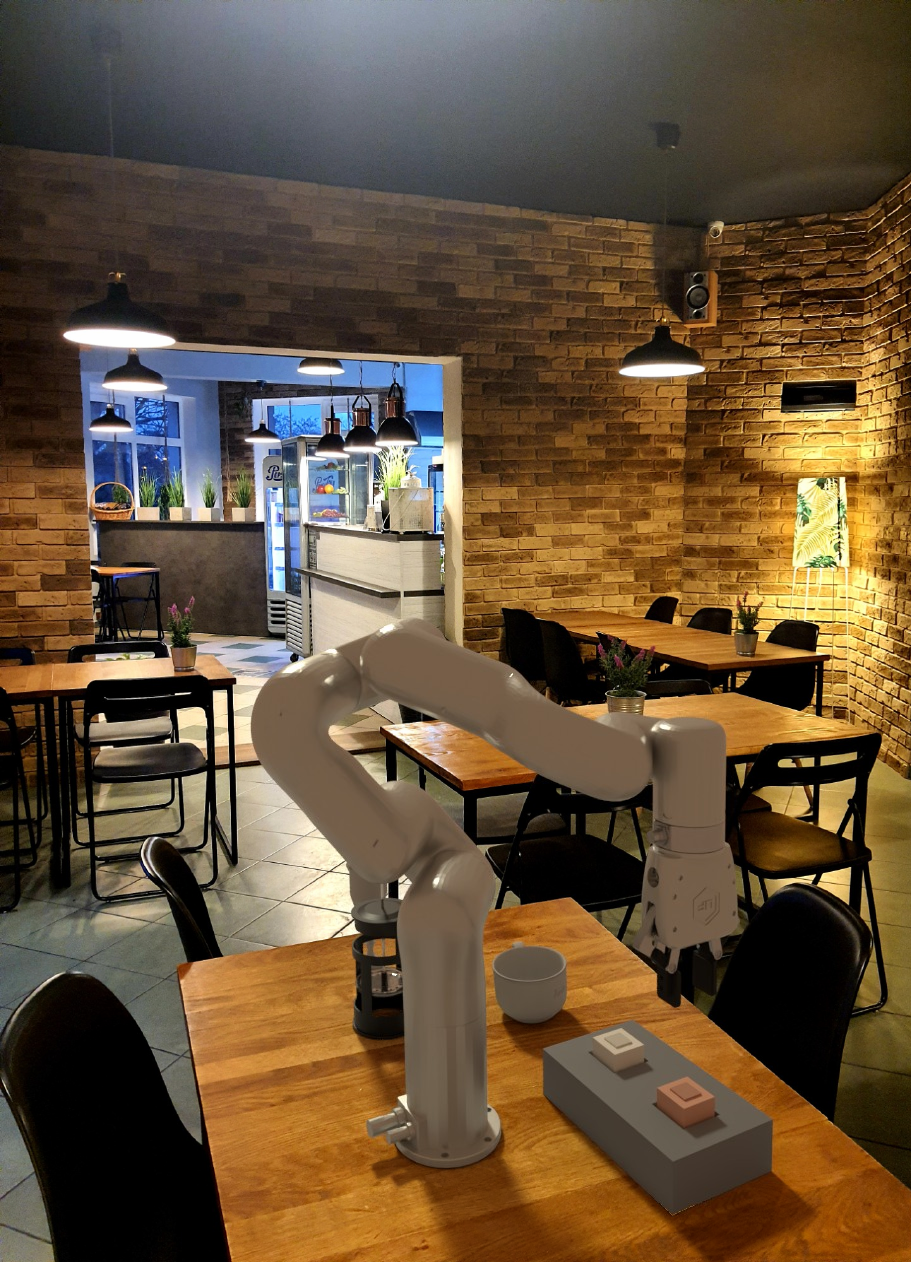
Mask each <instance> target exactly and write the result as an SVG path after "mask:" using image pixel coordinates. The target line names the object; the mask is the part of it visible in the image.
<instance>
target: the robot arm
mask: <svg viewBox="0 0 911 1262" xmlns="http://www.w3.org/2000/svg"><path fill="white" fill-rule="evenodd" d="M389 700H391V701H392V702H395V703H397V704H399V705H402V706H405V707H406V708H409V709H412V710H414V711H415V712H416V711H417V712H419V713H420V714H421V713H422V714H424V715H427V716H428V717H431V718H434V719H436V720H438V721H441V722H443V723H446V724H448V725H451V726H453V727H456V728H457V729H460V730H462V731H464V732H467V733H470V734H471V735H474V736H476V737H479V738H480V739H482V740H484V741H485V742H487V743H488V744H489V745H491V747H493V748H495V749H496V750H497V751H498V752H501V753H503V754H504V755H506V756H507V757H509V758H510V759H512V760H513V761H515V762H517V763H518V764H519V765H521V766H523V767H525V768H526V769H528V770H530V771H532V772H533V773H535V774H538V775H539V776H541V777H544V778H545V779H548V780H550V781H553V782H555V783H558V784H559V785H562V786H565V787H567V788H570V789H572V790H574V791H576V792H579V793H581V794H584V795H586V796H589V797H592V798H594V799H597V800H603V801H606V802H607V801H609V802H622V801H626V800H629V799H631V798H634V797H635V796H637V795H638V794H640V793H641V792H642V791H643V790H644V789H645V788H646V787H647V785H648V783H649V782H650V780H651V782H652V830H648V831H647V832H646V840H647V841H648V843H649V844H652V845H651V846H649V848H648V852H647V855H646V861H645V865H644V866H645V867H644V873H643V879H642V880H643V881H642V890H641V909H640V910H641V912H640V915H641V916H640V917H641V925H640V927H639V929H638V930H637V932H636V935H635V936H634V939H633V941H632V943H631V944H632V945H631V946H632V948H633V949H635V950H637V951H638V952H640V953H642V954H643V955H645V956H646V957H648V958H649V960H651V962H652V963H653V964H655V966H656V996H657V997H658V998H659V999H660V1000H662V1001H664V1002H665V1003H666V1004H667V1005H670V1006H671V1007H672V1008H674V1009H676V1008H679V1007H681V1005H682V972H681V971H680V970H678V963H679V959H680V958H679V957H680V953H681V950H682V949H687V948H690V947H693V946H696V948H697V949H695V950H693V951H692V964H691V965H692V968H691V969H692V971H691V972H692V975H691V976H692V977H691V978H692V979H691V981H692V986H693V987H695V988H697V989H698V990H700V991H701V992H702V993H705V994H707V995H708V996H710V997H713V996H716V995H717V994H718V993H717V992H718V991H717V990H718V989H717V986H718V985H717V983H718V960H720V959H721V958H722V957H723V947H724V946H725V945H726V943H727V941H728V939H729V937H730V935H731V934H733V932H734V931H735V930H736V929H737V927H738V925H740V921H741V920H740V917H739V916H738V889H737V887H738V886H737V878H736V869H735V863H734V862H735V861H734V857H733V852H732V849H731V845H730V844H729V843H728V842H726V789H727V788H726V784H727V783H726V781H727V780H726V778H727V735H726V731H725V729H724V727H723V726H722V725H721V724H720V723H719V722H717V721H714V720H711V719H709V718H705V717H704V718H703V717H697V716H695V717H694V716H677V717H670V718H662V717H656V716H648V715H642V714H636V713H630V712H625V711H624V712H623V711H622V712H621V711H613V712H607V713H604V714H601V715H599V716H597V717H596V718H595V719H594V720H593V719H591V718H588V717H587V716H584V715H582V714H579V713H577V712H574V711H572V710H570V709H568V708H566V707H563V706H561V705H560V704H557V703H556V702H554V701H552V700H551V699H549V698H548V697H546V696H545V695H543V694H542V693H540V692H539V691H538V690H537V689H535V688H534V687H533V686H532V685H531V684H530V683H529V681H528V680H527V679H526V678H525V677H524V676H523V675H522V674H521V673H520V672H519V671H518V670H516V669H515V668H513V666H512V667H511V665H509V664H506V663H504V662H501V661H499V660H497V659H494V658H491V657H488V656H487V655H484V654H481V653H479V652H476V651H475V650H474V651H473V650H471V649H469V648H466V647H464V646H461V645H459V644H457V643H454V642H451V641H449V640H447V639H446V637H445V636H444V633H443V632H442V631H441V630H440V628H438V627H437V626H436V625H435V624H433V623H431V622H430V621H428V620H425V619H421V618H418V617H417V618H415V617H407V618H402V619H399V620H396V621H394V622H390V623H388V624H385V625H383V626H381V627H380V628H377V630H375V631H374V632H371V633H368V634H366V635H363V636H361V637H360V636H359V637H358V638H355V639H353V640H351V641H348V642H345V643H343V644H340V645H338V646H334V647H331V648H329V649H327V650H324V651H321V652H318V653H316V654H313V655H310V656H308V657H306V658H304V659H300V660H297V661H295V662H292V663H290V664H287V665H286V666H283V667H282V668H280V669H279V670H278V671H276V672H275V673H273V674H272V675H271V676H270V677H269V678H268V679H267V681H266V682H265V683H264V684H263V685H262V687H261V688H260V690H259V692H258V694H257V696H256V699H255V701H254V704H253V707H252V711H251V716H250V738H251V743H252V746H253V749H254V752H255V755H256V757H257V759H258V760H259V762H260V765H261V766H262V768H263V769H264V770H265V772H266V774H268V776H270V778H271V779H272V781H274V782H275V784H277V786H278V787H279V788H280V789H281V791H283V792H284V793H285V794H286V795H287V796H288V797H289V798H290V799H291V800H292V801H293V802H294V803H295V805H296V806H297V807H298V808H299V809H300V810H301V811H302V812H303V813H304V815H305V816H306V817H307V819H308V820H309V821H310V822H311V824H313V826H314V827H315V828H316V829H317V830H318V832H320V834H321V835H322V836H323V837H324V838H325V840H327V842H328V843H329V844H330V845H331V846H332V847H333V848H334V849H335V851H336V852H337V853H338V854H339V856H340V857H342V858H343V860H344V861H345V863H348V864H349V865H350V867H351V868H352V869H353V870H354V871H355V872H356V873H357V874H358V875H359V876H360V877H362V878H363V879H365V880H367V881H369V882H372V883H375V884H387V885H388V884H390V883H393V882H395V881H398V880H399V879H401V878H402V877H403V876H405V877H406V878H407V879H408V881H409V882H410V885H409V887H408V888H407V890H406V892H405V894H404V896H403V898H402V899H401V900H402V903H401V906H400V909H399V913H398V919H397V938H398V945H399V952H400V958H401V966H402V979H403V1009H404V1036H403V1037H404V1073H405V1077H404V1078H405V1079H404V1080H405V1084H404V1085H405V1094H404V1095H403V1094H402V1095H400V1096H397V1107H395V1108H392V1109H391V1110H390V1113H387V1114H384V1115H383V1114H382V1115H379V1116H376V1117H373V1118H369V1119H366V1123H365V1125H366V1126H365V1127H366V1131H367V1135H368V1136H369V1138H371V1139H373V1138H377V1137H379V1136H381V1135H385V1139H386V1143H387V1144H388V1145H389V1146H390V1145H393V1144H395V1145H396V1147H397V1149H398V1151H400V1152H401V1154H403V1155H404V1156H405V1157H406V1158H408V1159H410V1160H412V1161H413V1162H416V1163H417V1164H419V1165H422V1166H423V1165H424V1166H427V1167H432V1168H436V1169H437V1168H440V1169H449V1168H450V1169H453V1168H461V1167H464V1166H468V1165H469V1166H470V1165H472V1164H475V1163H477V1162H479V1161H480V1160H482V1159H484V1158H486V1157H488V1155H489V1154H491V1153H492V1152H493V1151H494V1150H495V1149H496V1147H497V1146H498V1145H499V1142H500V1141H501V1140H500V1139H501V1136H502V1125H501V1124H502V1122H501V1121H502V1120H501V1119H500V1115H499V1114H498V1112H497V1111H496V1109H495V1108H493V1107H492V1106H491V1104H489V1103H488V1051H487V1050H488V1047H487V1045H488V1040H487V1037H488V1036H487V1035H488V1033H487V988H486V987H487V985H486V970H485V968H486V967H485V959H484V944H483V943H484V931H485V925H486V922H487V919H488V916H489V912H490V910H491V907H492V904H493V902H494V899H495V895H496V887H497V885H496V884H497V883H496V876H495V872H494V870H493V867H492V865H491V863H490V862H489V860H488V859H487V857H486V856H485V854H484V853H483V852H482V850H481V849H480V848H479V847H478V845H476V844H475V843H474V841H473V840H472V839H471V838H470V837H469V836H468V835H467V833H466V832H465V831H464V830H463V829H462V828H461V827H460V825H458V824H457V823H456V821H455V820H454V819H453V818H452V817H451V816H450V815H449V814H448V813H447V811H446V810H445V809H444V808H443V807H442V806H441V805H440V804H439V803H438V801H436V799H434V797H433V796H431V795H430V793H428V792H427V791H425V790H424V789H423V788H421V787H419V786H418V785H415V784H413V783H411V782H408V781H403V780H390V781H386V782H383V783H381V784H379V782H377V780H376V779H375V778H374V777H373V776H372V775H371V774H370V773H369V772H368V771H367V770H366V769H365V767H364V766H363V765H362V763H361V762H360V761H359V760H358V759H357V758H356V757H355V756H354V755H353V754H351V753H350V752H349V751H348V750H346V749H345V748H344V747H342V746H340V745H339V744H338V743H337V742H336V741H334V740H333V739H332V737H331V736H330V733H329V731H330V727H332V726H334V725H336V724H338V722H339V721H342V720H343V719H345V718H346V717H349V716H351V715H353V714H355V713H357V712H360V711H362V710H365V709H367V708H371V707H373V706H375V705H378V704H381V703H383V702H386V701H389ZM654 938H655V939H654ZM653 940H654V943H653ZM666 948H668V949H667V953H666ZM665 953H666V954H667V955H666V954H665Z"/></svg>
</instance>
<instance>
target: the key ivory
mask: <svg viewBox="0 0 911 1262" xmlns="http://www.w3.org/2000/svg"><path fill="white" fill-rule="evenodd" d="M593 1057H595V1058H596V1059H597V1060H598V1061H600V1062H601V1063H602V1064H603V1065H604V1066H606V1067H607V1068H608V1069H609V1070H611V1071H612V1072H613V1073H616V1072H619V1071H622V1070H625V1069H628V1068H631V1067H634V1066H636V1065H639V1064H642V1063H644V1044H642V1043H641V1042H640V1041H638V1040H637V1039H636V1038H634V1037H633V1036H631V1035H630V1034H629V1033H627V1032H626V1031H625V1030H623V1029H622V1028H620V1029H617V1030H614V1031H611V1032H608V1033H605V1034H602V1035H598V1036H595V1037H593Z"/></svg>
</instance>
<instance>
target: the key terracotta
mask: <svg viewBox="0 0 911 1262" xmlns="http://www.w3.org/2000/svg"><path fill="white" fill-rule="evenodd" d="M657 1109H659V1110H660V1111H661V1112H662V1113H664V1114H665V1115H666V1116H667V1117H669V1118H670V1119H671V1120H672V1121H673V1122H675V1123H676V1124H677V1125H678V1126H680V1127H681V1128H682V1129H683V1130H684V1129H686V1128H689V1127H691V1126H694V1125H696V1124H699V1123H701V1122H704V1121H706V1120H708V1119H711V1118H713V1117H715V1097H714V1096H713V1095H712V1094H710V1093H709V1092H708V1091H706V1090H705V1089H704V1088H702V1087H701V1086H699V1085H698V1084H697V1083H695V1082H694V1081H693V1080H691V1079H690V1078H689V1077H685V1078H682V1079H679V1080H677V1081H674V1082H671V1083H669V1084H666V1085H663V1086H660V1087H658V1088H657Z"/></svg>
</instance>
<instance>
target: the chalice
mask: <svg viewBox="0 0 911 1262" xmlns="http://www.w3.org/2000/svg"><path fill="white" fill-rule="evenodd" d="M345 868H346V869H347V871H348V875H349V876H348V877H349V878H348V879H349V882H348V883H349V895H350V899H351V902H352V904H353V907H354V906H355V905H357V904H359V903H361V902H363V901H366V900H370V899H376V898H381V884H375V883H372V882H369V881H367V880H365V879H363V878H362V877H360V876H359V875H358V874H357V873H356V872H355V871H354V870H353V869H352V868H351V867H350V865H349V864H348V863H347V862H345ZM383 894H384V898H387V894H388V883H387V884H383ZM375 944H376V940H372V941H368V942H365V943H364V945H365V946H366V954H365V955H368V956H376V957H380V956H379V955H377V954H376V953H375V952H374V946H375ZM378 967H383V966H371V969H373V968H378ZM354 974H355V976H356V970H355V971H354Z"/></svg>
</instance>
